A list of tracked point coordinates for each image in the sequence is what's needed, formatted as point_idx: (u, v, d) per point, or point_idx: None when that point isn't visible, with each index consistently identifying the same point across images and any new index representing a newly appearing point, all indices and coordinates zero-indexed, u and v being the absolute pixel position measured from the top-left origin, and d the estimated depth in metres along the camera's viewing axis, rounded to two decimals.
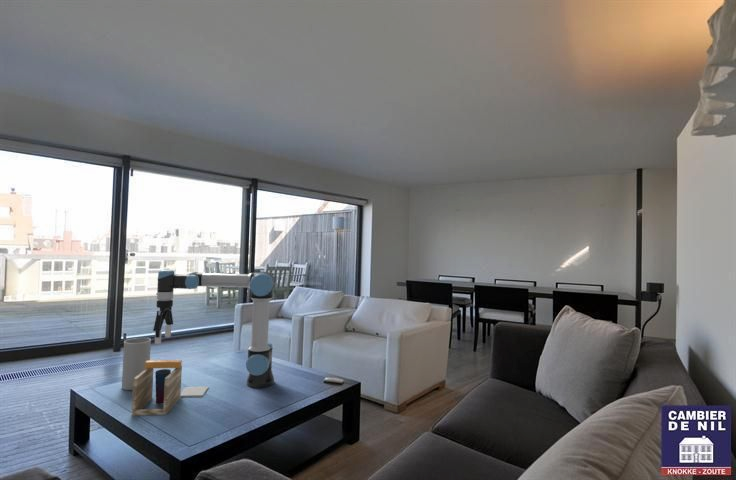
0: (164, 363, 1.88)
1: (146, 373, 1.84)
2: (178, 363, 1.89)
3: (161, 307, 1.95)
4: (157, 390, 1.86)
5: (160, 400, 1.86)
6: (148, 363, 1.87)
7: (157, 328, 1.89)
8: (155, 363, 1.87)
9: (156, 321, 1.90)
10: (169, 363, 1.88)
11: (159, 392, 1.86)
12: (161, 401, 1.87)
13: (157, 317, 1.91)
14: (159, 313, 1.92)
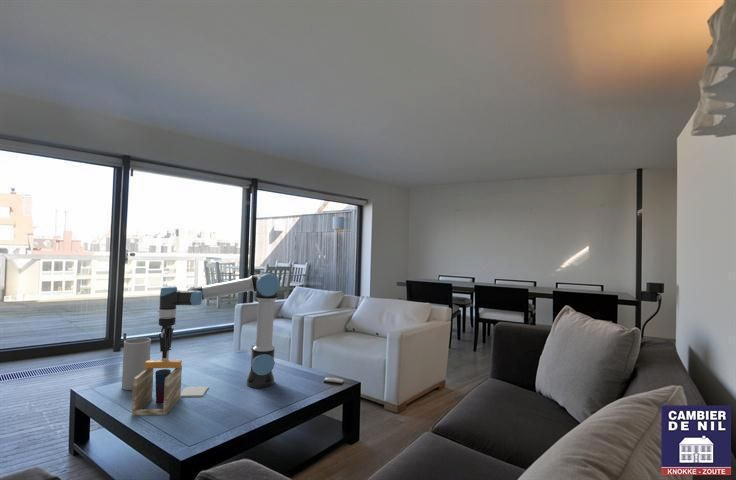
0: (164, 363, 1.88)
1: (146, 373, 1.84)
2: (178, 363, 1.89)
3: (163, 325, 1.88)
4: (157, 390, 1.86)
5: (160, 400, 1.86)
6: (148, 363, 1.87)
7: (164, 349, 1.88)
8: (155, 363, 1.87)
9: (161, 343, 1.87)
10: (169, 363, 1.88)
11: (159, 392, 1.86)
12: (161, 401, 1.87)
13: (161, 339, 1.87)
14: (162, 336, 1.86)
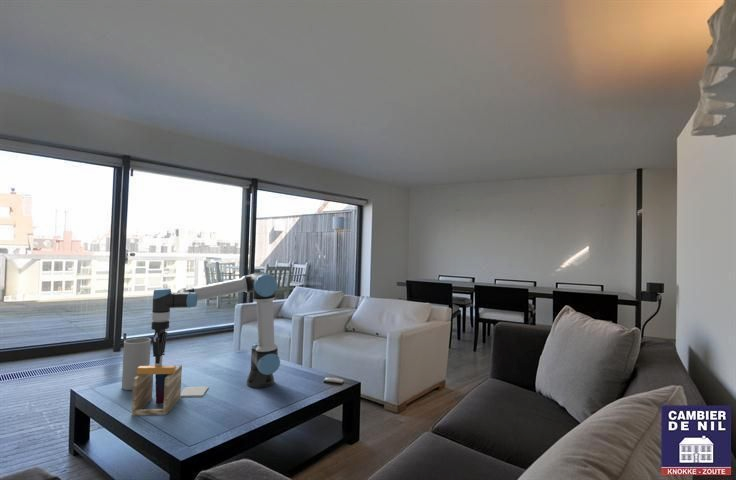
0: (157, 369, 1.79)
1: None
2: (172, 369, 1.80)
3: (156, 329, 1.80)
4: (157, 390, 1.86)
5: (160, 400, 1.86)
6: (140, 369, 1.78)
7: (157, 354, 1.80)
8: (148, 369, 1.79)
9: (154, 348, 1.78)
10: (163, 369, 1.80)
11: (159, 392, 1.86)
12: (161, 401, 1.87)
13: (154, 344, 1.78)
14: (155, 341, 1.77)
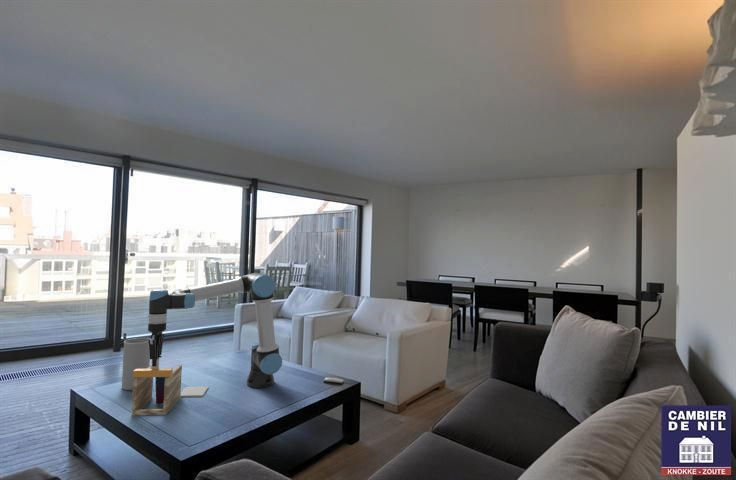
0: (154, 372, 1.75)
1: None
2: (169, 372, 1.76)
3: (153, 331, 1.76)
4: (157, 390, 1.86)
5: (160, 400, 1.86)
6: (136, 372, 1.74)
7: (154, 356, 1.76)
8: (144, 372, 1.75)
9: (150, 351, 1.75)
10: (159, 372, 1.76)
11: (159, 392, 1.86)
12: (161, 401, 1.87)
13: (150, 346, 1.74)
14: (151, 343, 1.73)
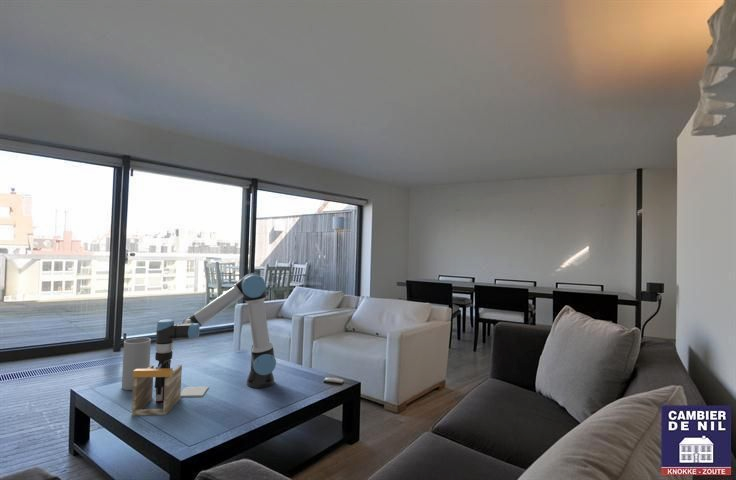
0: (154, 372, 1.75)
1: None
2: (169, 372, 1.76)
3: (160, 360, 1.86)
4: None
5: None
6: (136, 372, 1.74)
7: (158, 385, 1.83)
8: (144, 372, 1.75)
9: (156, 378, 1.83)
10: (159, 372, 1.76)
11: None
12: (161, 401, 1.87)
13: None
14: None
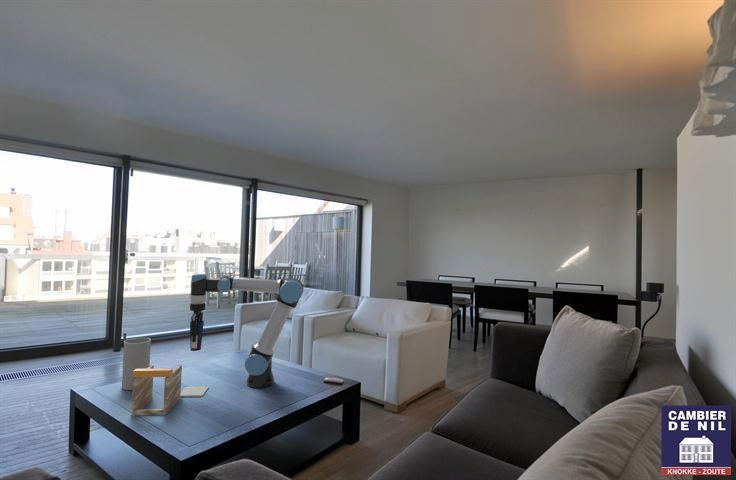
0: (154, 372, 1.75)
1: None
2: (169, 372, 1.76)
3: (195, 310, 1.99)
4: None
5: (195, 348, 1.99)
6: (136, 372, 1.74)
7: (194, 333, 1.96)
8: (144, 372, 1.75)
9: (192, 327, 1.96)
10: (159, 372, 1.76)
11: None
12: (195, 349, 2.00)
13: (192, 323, 1.96)
14: (193, 319, 1.96)
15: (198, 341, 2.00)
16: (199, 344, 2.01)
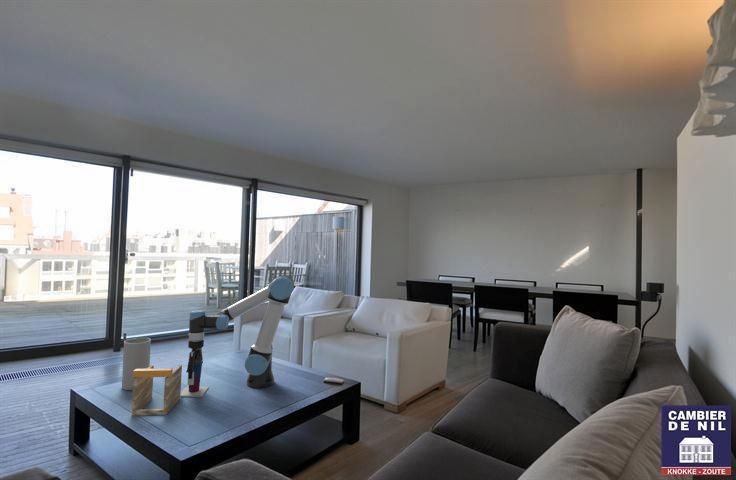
0: (154, 372, 1.75)
1: None
2: (169, 372, 1.76)
3: (193, 348, 1.98)
4: None
5: (193, 389, 1.99)
6: (136, 372, 1.74)
7: (190, 370, 1.92)
8: (144, 372, 1.75)
9: (189, 363, 1.94)
10: (159, 372, 1.76)
11: None
12: (194, 390, 2.00)
13: (190, 359, 1.95)
14: (192, 355, 1.95)
15: (196, 383, 2.00)
16: (197, 385, 2.01)
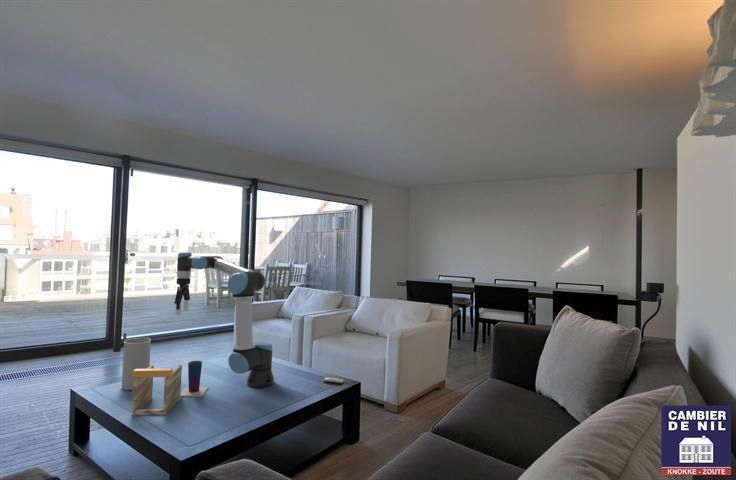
0: (154, 372, 1.75)
1: None
2: (169, 372, 1.76)
3: (181, 284, 2.26)
4: (190, 380, 1.99)
5: (193, 389, 1.99)
6: (136, 372, 1.74)
7: (178, 301, 2.20)
8: (144, 372, 1.75)
9: (177, 295, 2.21)
10: (159, 372, 1.76)
11: (192, 382, 1.99)
12: (194, 390, 2.00)
13: (177, 292, 2.22)
14: (179, 288, 2.23)
15: (196, 382, 2.00)
16: (197, 385, 2.01)
